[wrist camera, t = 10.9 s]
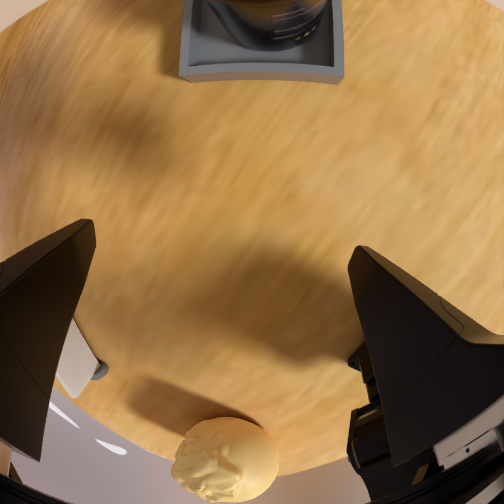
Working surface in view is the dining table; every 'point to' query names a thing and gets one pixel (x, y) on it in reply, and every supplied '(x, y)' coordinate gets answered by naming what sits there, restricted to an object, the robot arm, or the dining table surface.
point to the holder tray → (254, 61)
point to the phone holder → (78, 363)
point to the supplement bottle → (269, 21)
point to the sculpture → (226, 460)
